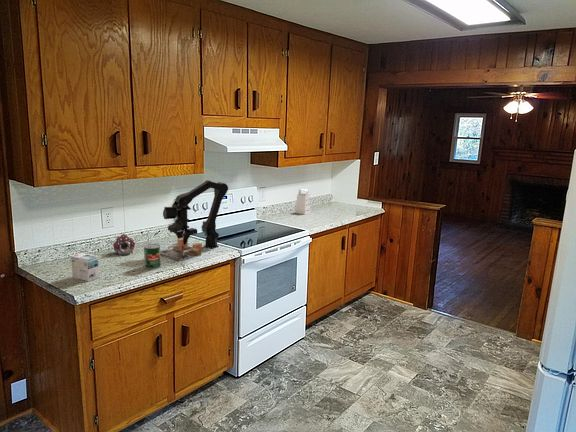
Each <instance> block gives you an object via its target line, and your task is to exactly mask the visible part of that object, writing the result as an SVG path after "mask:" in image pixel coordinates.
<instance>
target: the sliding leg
mask: <svg viewBox="0 0 576 432" xmlns="http://www.w3.org/2000/svg"><path fill="white" fill-rule="evenodd" d="M188 241H189V240H188ZM188 241H187V243H186V245H184V243H183V238H179V239H178V238H177V243H178V244H176V243H175V244H176V245H173V244H172V245H170V246H167V249H168V252H170V250H171V249H173V247H176V246H178V250H177V252H181V251H182V246H189V245H188V243H189V242H188Z"/></svg>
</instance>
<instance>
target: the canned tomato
mask: <svg viewBox="0 0 576 432" xmlns="http://www.w3.org/2000/svg"><path fill="white" fill-rule="evenodd" d="M160 251H161V245H160V244H157V243H149V244H145V245H143V253H144V254H143V257H144V260H143V261H144V268H145V269H146V270H157V269H159V268H161V267H162V266H161V263H162V262H161V255H160Z"/></svg>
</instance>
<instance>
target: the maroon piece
mask: <svg viewBox="0 0 576 432" xmlns="http://www.w3.org/2000/svg"><path fill="white" fill-rule="evenodd" d="M115 240H116V241H115V242H113V245H112V246H113V250H114V252H115V253H116V254H118V255H119V256H128V255H130V254H132V255H133V254H135V251H134V250H135V245H136V243H135V241H134V240H133V239H131V238H130V237H128V235H126V234H125V233H122V234H121V235H117V237H116V238H115Z"/></svg>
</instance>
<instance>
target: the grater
mask: <svg viewBox="0 0 576 432" xmlns="http://www.w3.org/2000/svg"><path fill="white" fill-rule="evenodd" d="M302 190H303V191H305V193H302ZM295 201H296V202H295V205H294V206H295V207H294V214H298V215H299V214H300V215H307V214H311V212H312V211H311V199H310V194H309V190H308V189H305V188H301V189H299V190H298V194H297V195H296V200H295Z"/></svg>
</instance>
